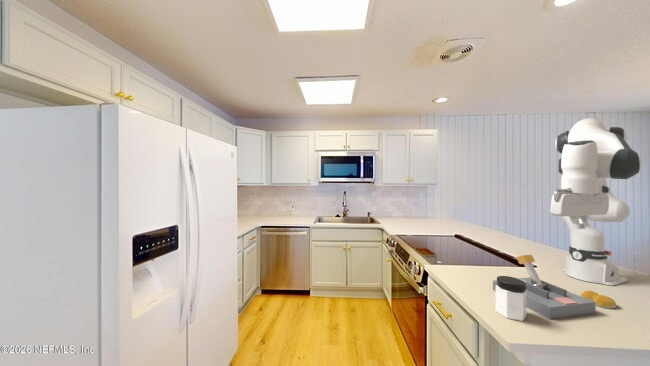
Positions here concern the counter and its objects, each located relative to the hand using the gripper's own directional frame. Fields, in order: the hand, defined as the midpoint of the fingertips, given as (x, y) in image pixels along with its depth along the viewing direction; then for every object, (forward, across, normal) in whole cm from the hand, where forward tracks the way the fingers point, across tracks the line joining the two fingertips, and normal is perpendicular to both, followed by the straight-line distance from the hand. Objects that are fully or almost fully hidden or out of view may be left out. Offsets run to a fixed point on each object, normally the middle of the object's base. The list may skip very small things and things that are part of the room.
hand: (578, 228), depth 81 cm
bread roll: (+31, +20, +7) cm, 38 cm away
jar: (+31, -20, +6) cm, 38 cm away
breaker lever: (+27, 0, +12) cm, 29 cm away
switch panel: (+31, 0, +12) cm, 33 cm away
